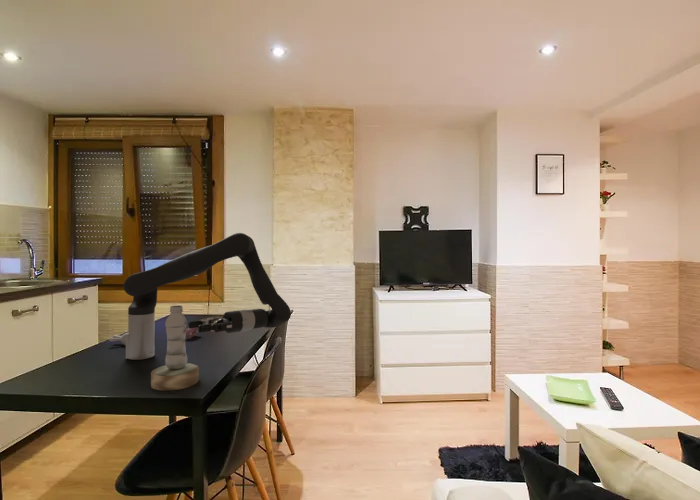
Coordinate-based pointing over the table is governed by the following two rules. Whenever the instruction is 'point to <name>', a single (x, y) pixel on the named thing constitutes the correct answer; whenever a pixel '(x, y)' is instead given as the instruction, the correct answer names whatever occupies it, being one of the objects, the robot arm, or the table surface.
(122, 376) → the table surface
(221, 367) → the table surface
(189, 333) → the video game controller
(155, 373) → the wooden stand
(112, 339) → the bunny figurine
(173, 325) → the plastic bottle
